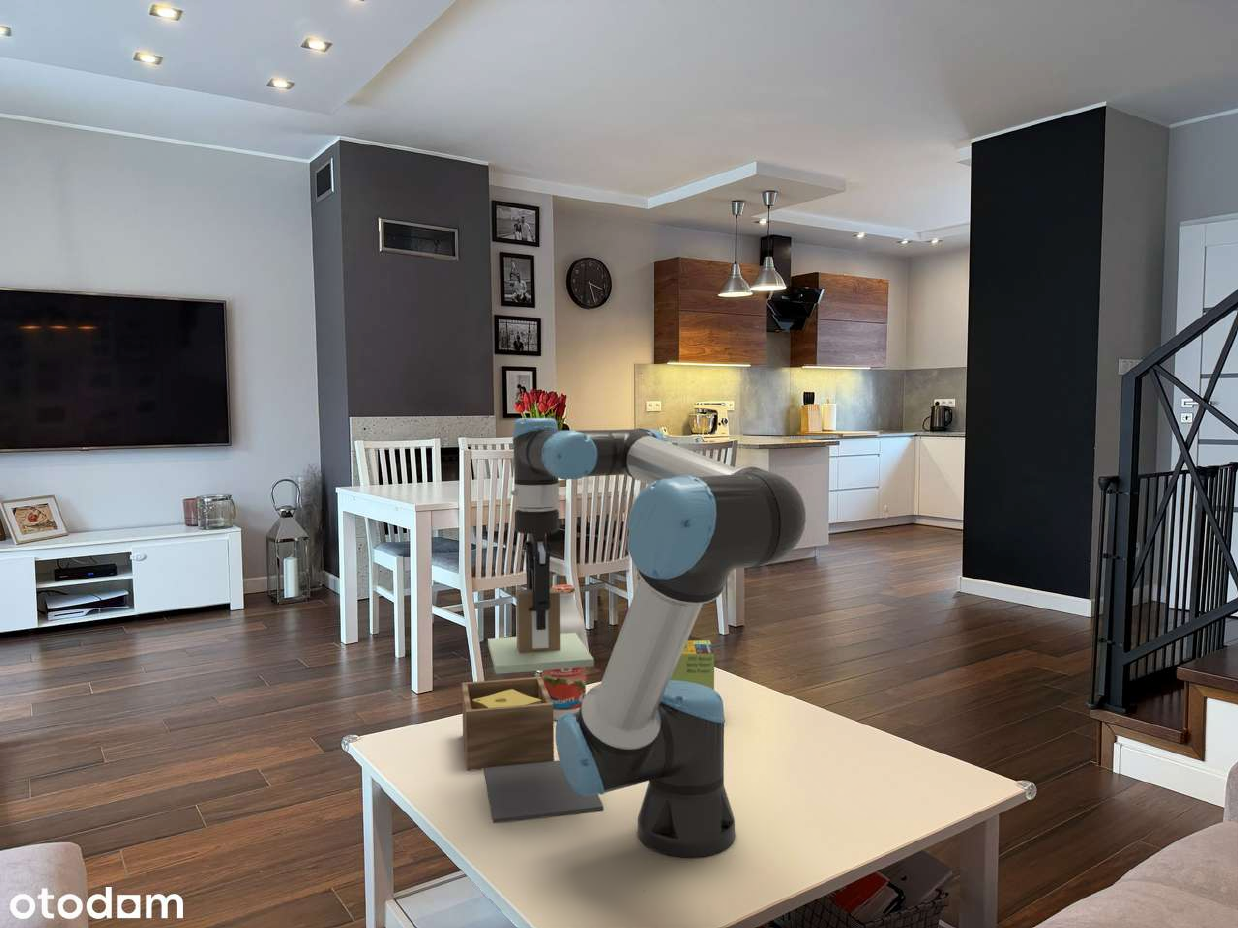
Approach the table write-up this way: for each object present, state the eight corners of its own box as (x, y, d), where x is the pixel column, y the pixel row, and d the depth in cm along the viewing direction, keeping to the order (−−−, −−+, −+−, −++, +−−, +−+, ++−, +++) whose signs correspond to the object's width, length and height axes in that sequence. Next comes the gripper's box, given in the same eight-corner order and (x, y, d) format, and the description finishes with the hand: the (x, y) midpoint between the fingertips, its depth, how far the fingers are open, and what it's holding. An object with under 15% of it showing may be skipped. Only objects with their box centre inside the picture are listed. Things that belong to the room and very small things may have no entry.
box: (553, 761, 160) (553, 704, 159) (467, 770, 156) (466, 711, 155) (541, 728, 176) (540, 676, 175) (463, 735, 173) (462, 682, 172)
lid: (593, 666, 140) (593, 599, 139) (495, 673, 136) (494, 604, 136) (575, 639, 157) (575, 579, 156) (488, 645, 153) (486, 583, 152)
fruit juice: (585, 705, 190) (584, 581, 188) (586, 720, 180) (585, 590, 179) (542, 706, 189) (541, 582, 187) (542, 722, 180) (540, 591, 178)
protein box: (715, 726, 177) (715, 653, 176) (640, 726, 177) (640, 653, 176) (710, 708, 187) (710, 639, 186) (640, 708, 187) (640, 639, 186)
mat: (603, 809, 140) (603, 806, 140) (493, 822, 136) (493, 818, 136) (581, 761, 160) (581, 758, 160) (484, 770, 156) (484, 767, 156)
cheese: (499, 764, 159) (498, 712, 158) (469, 747, 167) (468, 697, 166) (544, 749, 165) (543, 699, 165) (513, 734, 174) (512, 686, 173)
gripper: (509, 503, 152) (511, 632, 154) (520, 515, 136) (522, 659, 137) (551, 502, 154) (552, 629, 156) (566, 513, 137) (568, 656, 139)
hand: (538, 643), depth 146 cm, fingers closed on lid, 4 cm apart
